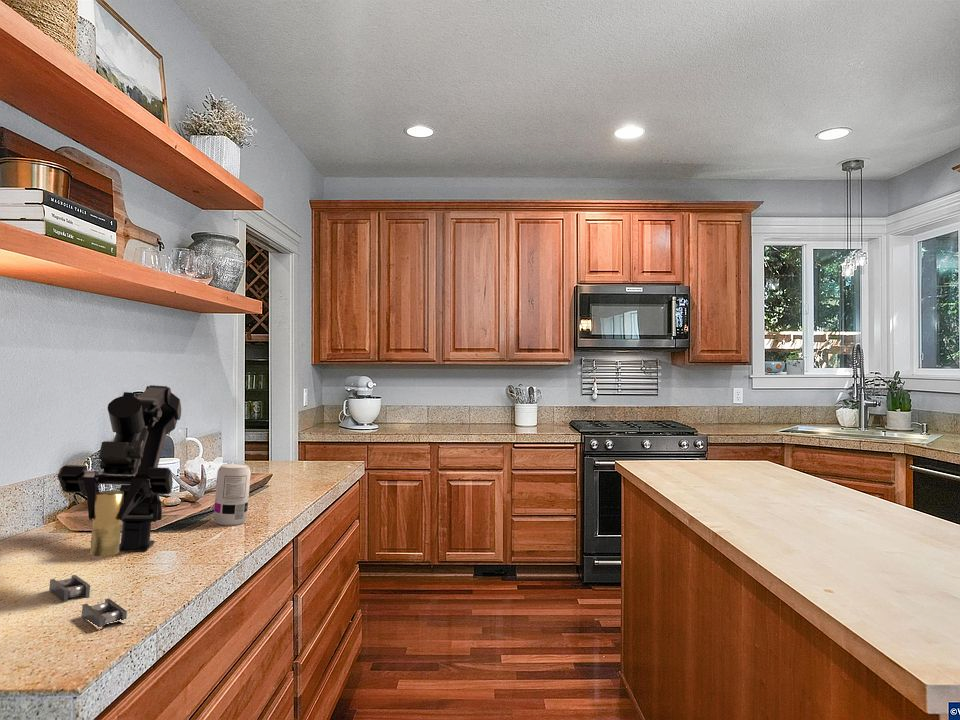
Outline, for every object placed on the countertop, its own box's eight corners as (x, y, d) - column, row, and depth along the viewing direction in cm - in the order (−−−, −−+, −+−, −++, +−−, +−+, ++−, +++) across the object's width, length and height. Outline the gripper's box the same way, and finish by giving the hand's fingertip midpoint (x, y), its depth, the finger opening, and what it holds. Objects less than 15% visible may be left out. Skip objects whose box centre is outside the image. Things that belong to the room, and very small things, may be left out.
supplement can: (206, 523, 159) (211, 466, 159) (226, 516, 167) (231, 461, 167) (233, 527, 157) (238, 469, 157) (252, 520, 165) (257, 465, 165)
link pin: (101, 547, 116) (106, 489, 116) (124, 549, 115) (129, 491, 115) (83, 554, 111) (89, 494, 111) (108, 557, 111) (113, 496, 111)
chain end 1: (49, 590, 110) (50, 579, 110) (74, 585, 113) (75, 574, 113) (63, 602, 105) (64, 590, 105) (89, 596, 109) (90, 585, 109)
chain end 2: (81, 616, 101) (82, 604, 101) (107, 610, 104) (109, 598, 104) (98, 630, 96) (99, 617, 96) (125, 623, 100) (126, 611, 100)
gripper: (66, 422, 114) (36, 493, 104) (174, 427, 120) (157, 496, 109) (77, 456, 122) (50, 527, 111) (179, 460, 127) (163, 527, 117)
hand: (105, 518), depth 112 cm, fingers closed on link pin, 5 cm apart
